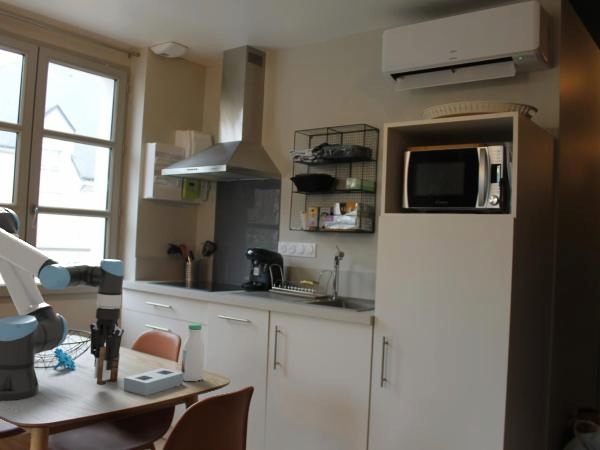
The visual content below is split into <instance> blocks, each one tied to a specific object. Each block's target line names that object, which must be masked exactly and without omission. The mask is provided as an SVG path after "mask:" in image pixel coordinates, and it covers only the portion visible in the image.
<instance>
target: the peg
mask: <svg viewBox="0 0 600 450" xmlns="http://www.w3.org/2000/svg"><path fill="white" fill-rule="evenodd" d="M104 359H106V345H104V346H101V347H100V354H99V365H98V376H97V378H96V385H98V386H104V385H107V384H108V383H107V382H108V381H107V380H104V381H103V380H102V374H103V363H104Z"/></svg>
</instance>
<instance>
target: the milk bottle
mask: <svg viewBox="0 0 600 450" xmlns="http://www.w3.org/2000/svg"><path fill="white" fill-rule="evenodd" d="M201 331H202V324H201V323H189V324H188V334H187V337H186V339H185V341H184V343H183V348H182V357H181V371H180V372H182V373H184V376H183V380H184V381H183V382H188V381H196V382H199V381H198V380H200V381H202V380H201V379H203V375H204V358H205V345H204V340H203V338H202V333H201Z"/></svg>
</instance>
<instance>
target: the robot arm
mask: <svg viewBox="0 0 600 450" xmlns="http://www.w3.org/2000/svg"><path fill="white" fill-rule="evenodd" d="M20 223H21V221H20V219H19V217H18V215H17V214H16V213H15V212H14V211H13V210H12V209H9V208H8V207H3V206H0V277H1V279H2V280H3V282H4V284H5V287H6V289H7V291H8V293H9V295H10V298H11V300H12V302H13V304H14V306H15V308H16V311H17V313H18V315H12V316H8V317H4V318H1V319H0V401H11V400H12V401H14V400H21V399H26V398H30V397H33V396H35V395H37V394H38V393H39V385H40V384H39V380H38V377H37V373H36V371H35V358H36V356H35V355H37V354H41V353H43V352H47V351H48V352H49V351H53V350H54V349H57V348H59V347H60V346H61V345H62V344H64V342H65V341H66V339H67V336H68V333H69V325H68V324H69V323H68V322H67V320H66V318H65V317H64V316H62V314H61V315H60V314H59V313H56V312H55V310H54V308H53V306H52V304H48V303H46V302H45V300H44V298H43V296H42V293H41V292H40V289H39V287H38V285H37V282H36V280H35V279H34V278H37V279H38V280H39V282H40V284H41V285H42V287H43V288H45V289H47V290H50V291H51V290H52V291H58V290H59V291H60V290H64V289H69V288H79V287H91V288H97V295H96V306H97V307H96V308H95V318H96V319H97V320H96V322H95V323H91V324H89V327H90V355H93V356H94V379H97V376H98V365H99V354H100V347H101V346H106V359H104V363H103V374H102V380H103V381H104V380H108V379H110V375H111V370H112V365H113V360H114V359H117V358H118V356H119V355H120V354H119V353H120V349H121V342H122V338H123V335H124V332H125V331H124V328H120V327H119V324H118V323H119V322H118V321H119V320H120V318H121V308H120V307H121V305H122V295H123V283H124V276H125V263H124V262H123V261H122V260H121V259H120V260H119V259H112V258H111V259H107V258H105V259H101V260H100V263H99V264H96V263H94V264H93V263H86V262H82V261H81V262H80V261H79V262H78V261H75V262H73V261H71V262H68V263H63V262H61V261H59V260H58V259H55V258H54V257H53V256H50V255H48V254H46V253H45V252H43V251H41V250H39V249H37V248H36V247H34V246H32V245H30V244H29V243H27V242H25V241H24V240H22V239H19V238H20V235H19V232H20V227H21V224H20ZM119 357H120V356H119Z"/></svg>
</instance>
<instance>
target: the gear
mask: <svg viewBox="0 0 600 450" xmlns="http://www.w3.org/2000/svg"><path fill="white" fill-rule="evenodd" d="M53 353H54V354H55V355H54V357H55V358H57V361H58V363H57V364H56V365H55V366H53V369H54V370H57V369H58V368H59V367H60V368H61V367H64V368H66V367H67V370H69V371H70V370H71V371H75V368H76V365H75V364H76V363H75V361H74V360H72V359H73V357H72V355H68V353H67V351H64V350H63V349H61V348H59V347H56V348H55V351H53Z"/></svg>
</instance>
